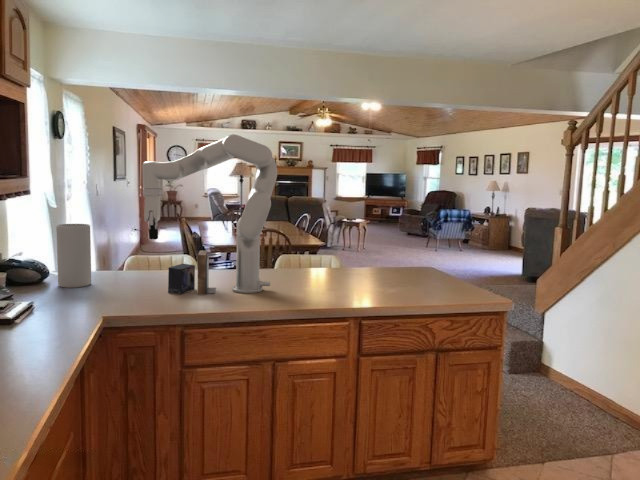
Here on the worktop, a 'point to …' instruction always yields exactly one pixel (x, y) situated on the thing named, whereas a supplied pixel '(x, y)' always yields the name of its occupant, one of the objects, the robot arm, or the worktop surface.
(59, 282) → the cylinder vase
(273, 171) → the robot arm
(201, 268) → the walnut block
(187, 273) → the small box
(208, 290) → the metal bookend
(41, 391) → the worktop surface
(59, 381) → the worktop surface
